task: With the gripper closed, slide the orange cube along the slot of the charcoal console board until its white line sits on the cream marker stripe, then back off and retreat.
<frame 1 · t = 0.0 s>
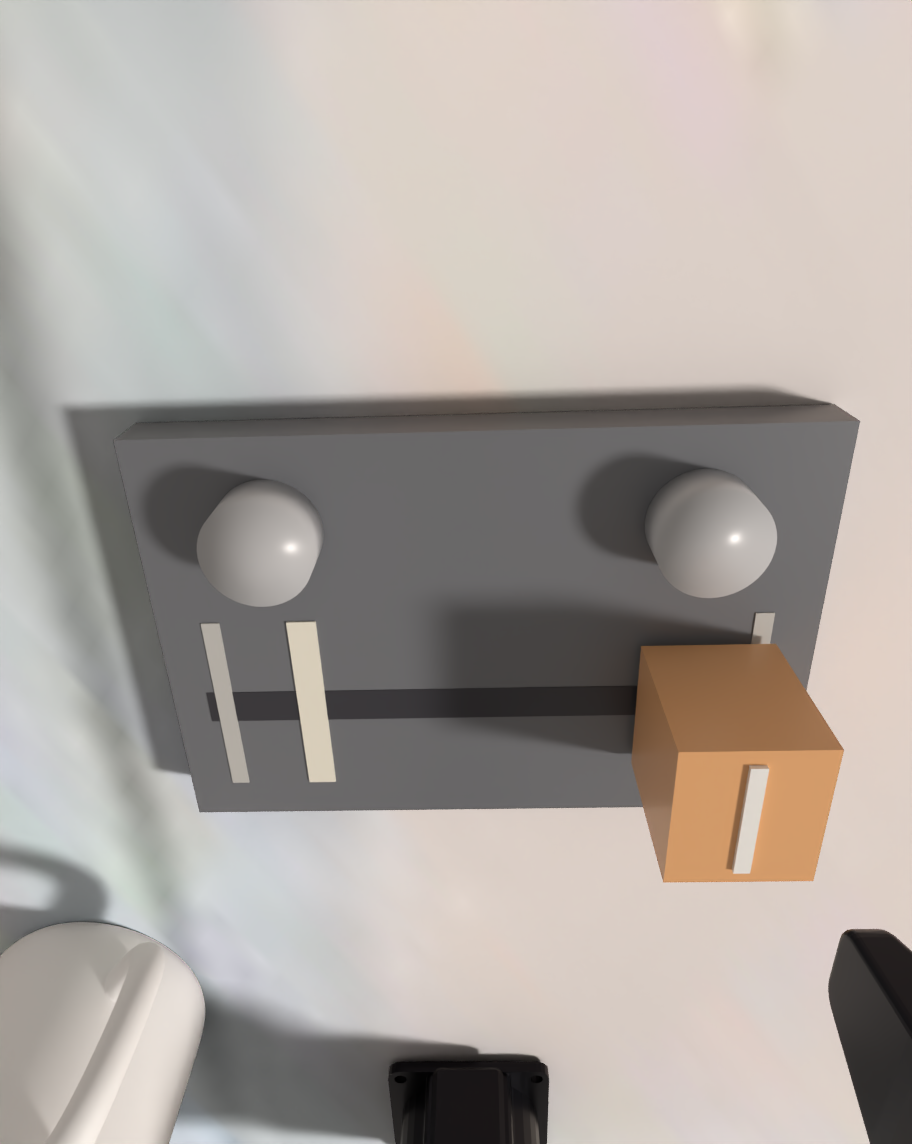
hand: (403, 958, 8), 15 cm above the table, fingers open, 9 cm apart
console board: (484, 615, 23), on the table
cup: (125, 958, 31), on the table
orange cube: (723, 758, 20), point 4 cm above the table, slide at -6.0 cm
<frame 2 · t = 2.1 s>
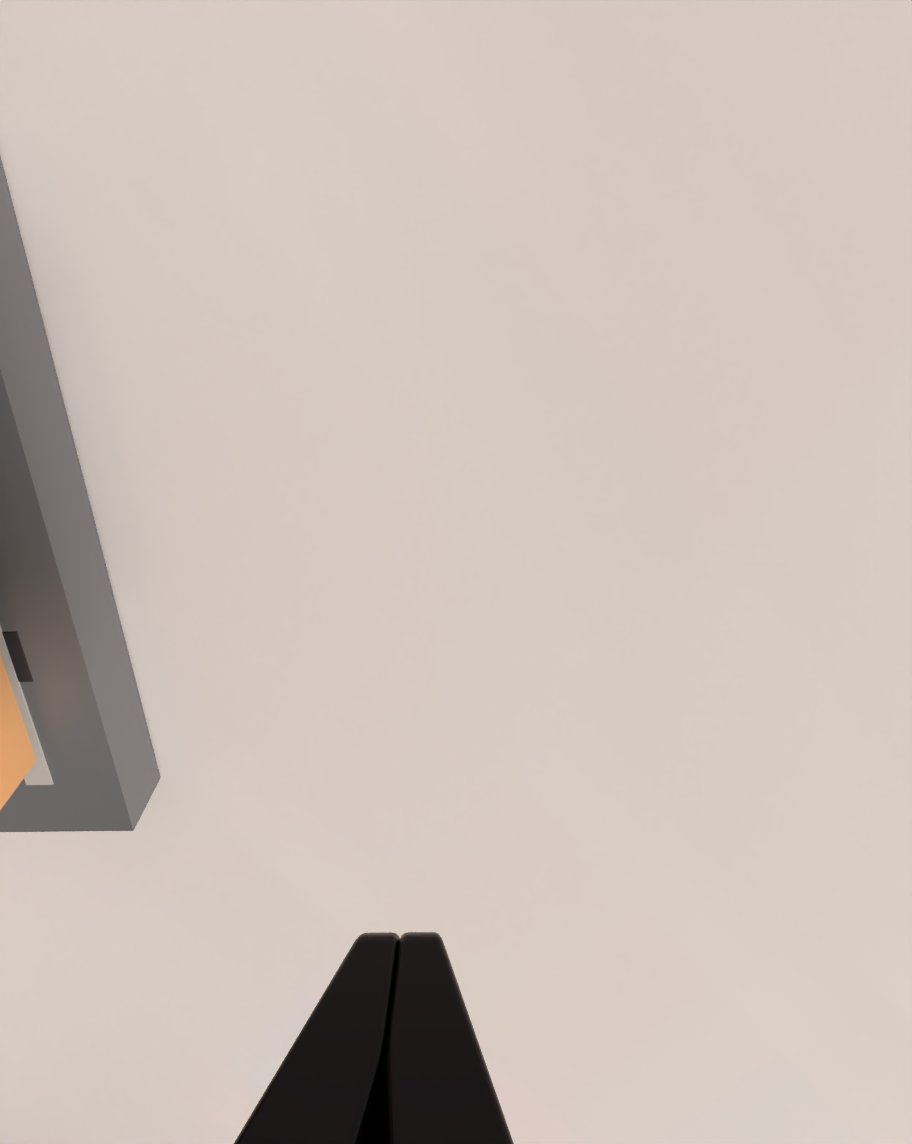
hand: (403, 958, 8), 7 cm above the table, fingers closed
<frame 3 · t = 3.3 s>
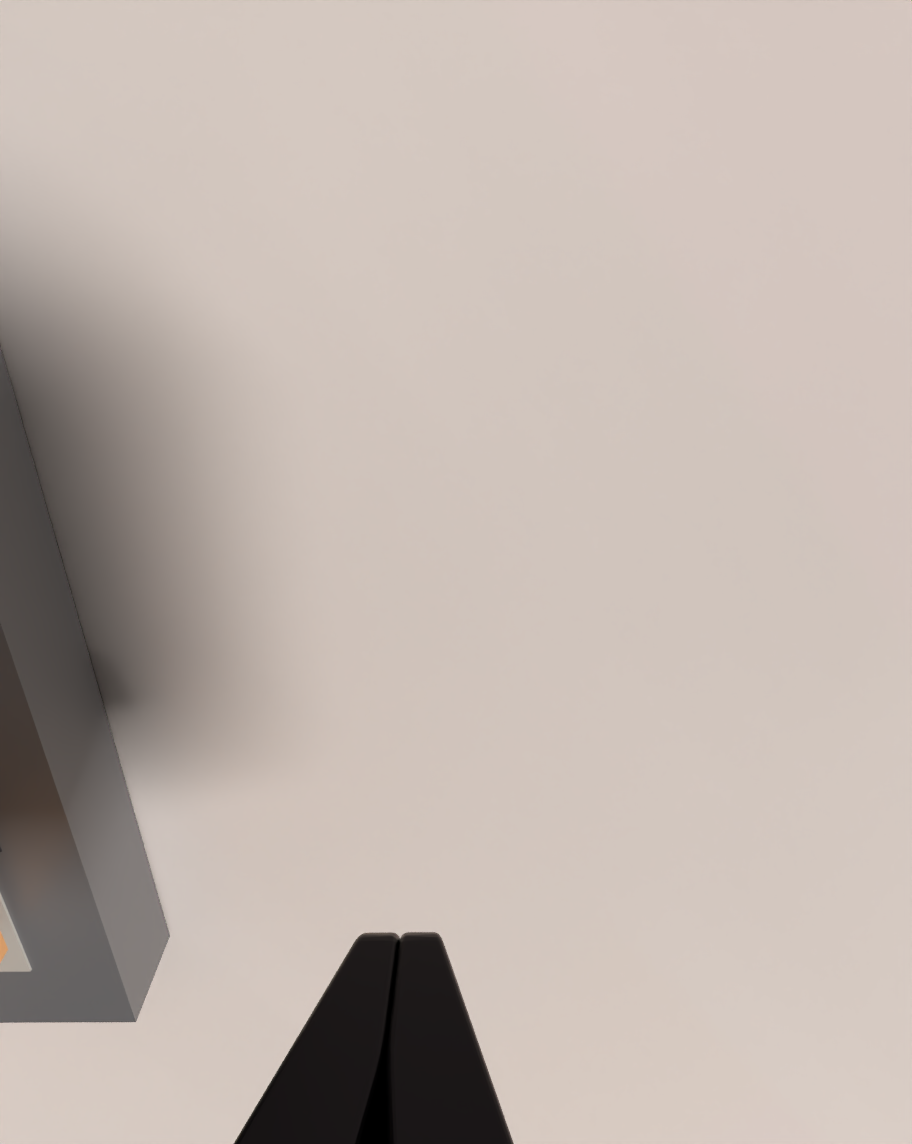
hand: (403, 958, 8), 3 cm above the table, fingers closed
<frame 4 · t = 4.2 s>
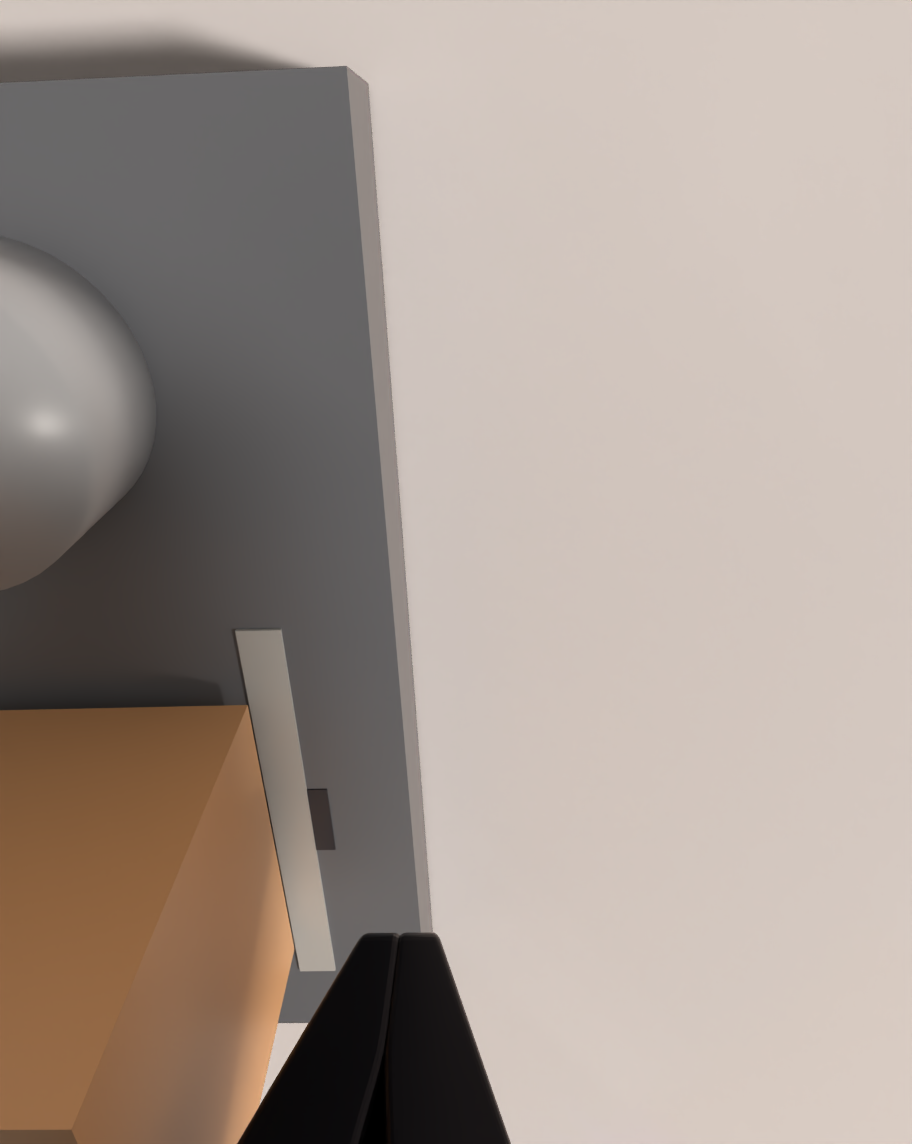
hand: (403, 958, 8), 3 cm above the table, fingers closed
orange cube: (40, 1013, 8), point 4 cm above the table, slide at -5.5 cm, touching gripper
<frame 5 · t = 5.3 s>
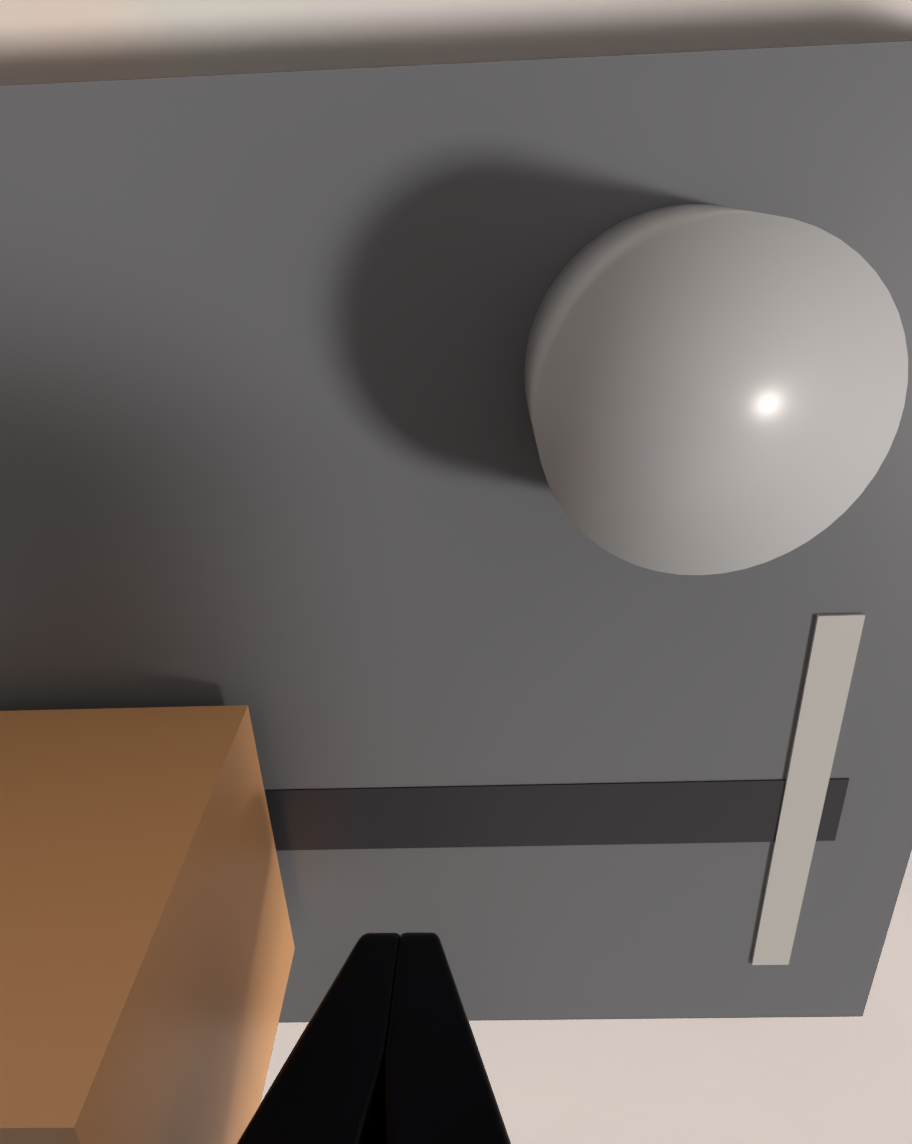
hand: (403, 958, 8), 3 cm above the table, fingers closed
console board: (206, 624, 11), on the table
orange cube: (41, 1013, 8), point 4 cm above the table, slide at 0.8 cm, touching gripper
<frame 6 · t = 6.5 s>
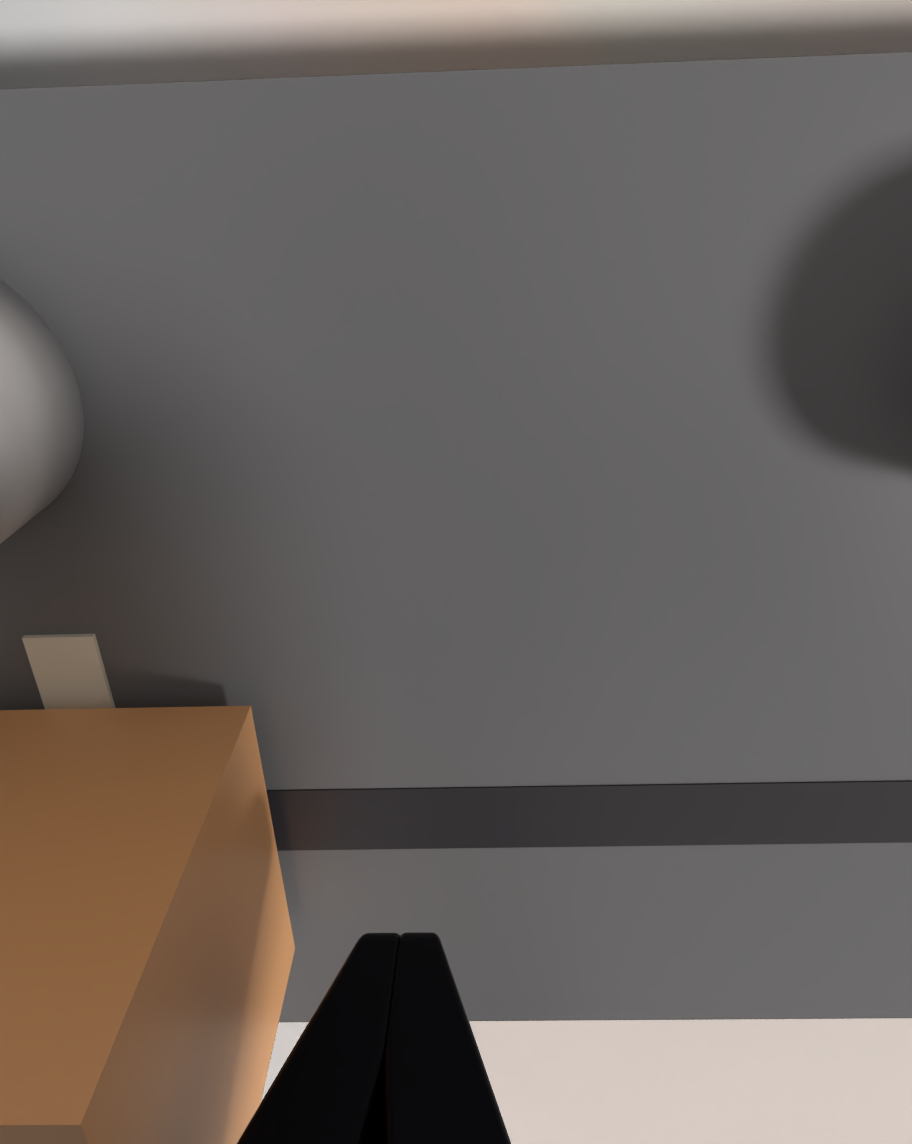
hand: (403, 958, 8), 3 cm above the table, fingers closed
console board: (503, 619, 10), on the table
orange cube: (44, 1011, 8), point 4 cm above the table, slide at 4.7 cm, touching gripper
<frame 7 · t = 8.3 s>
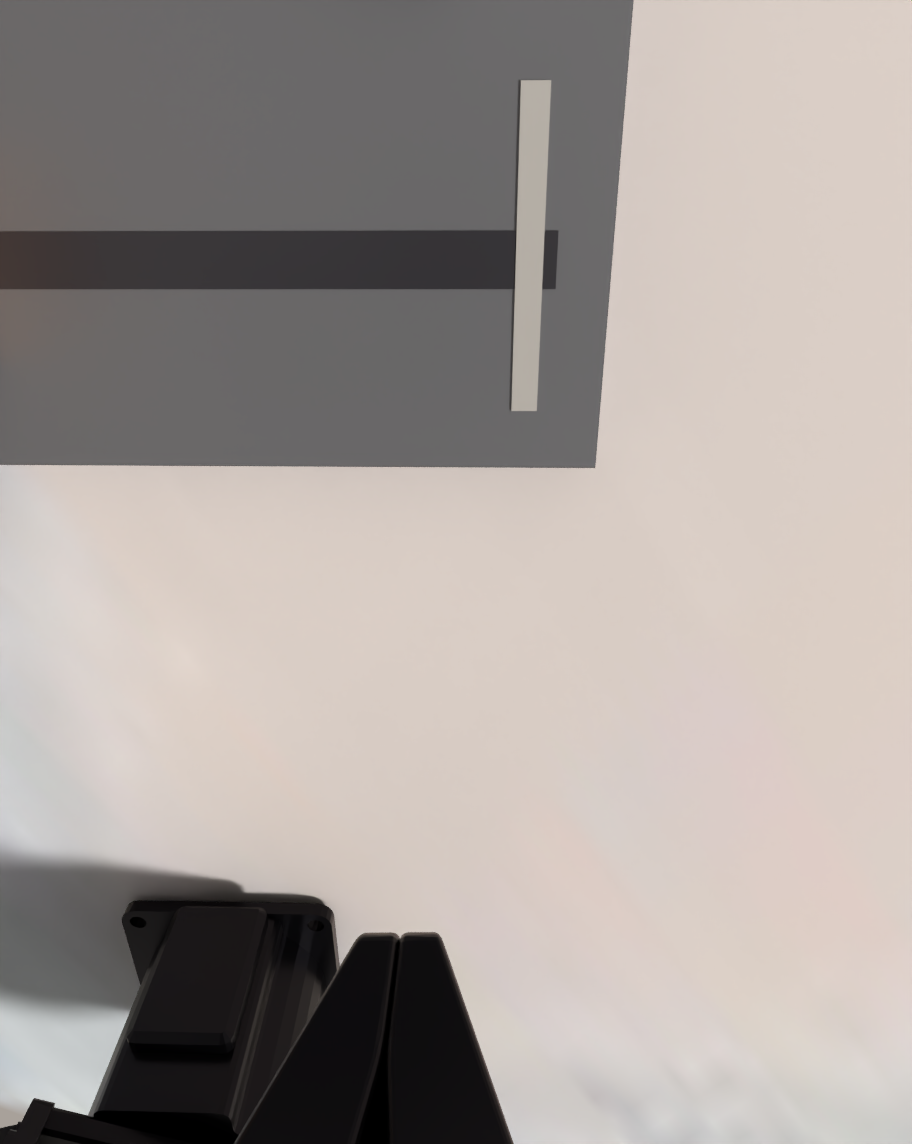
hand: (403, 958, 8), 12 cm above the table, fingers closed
console board: (132, 138, 15), on the table
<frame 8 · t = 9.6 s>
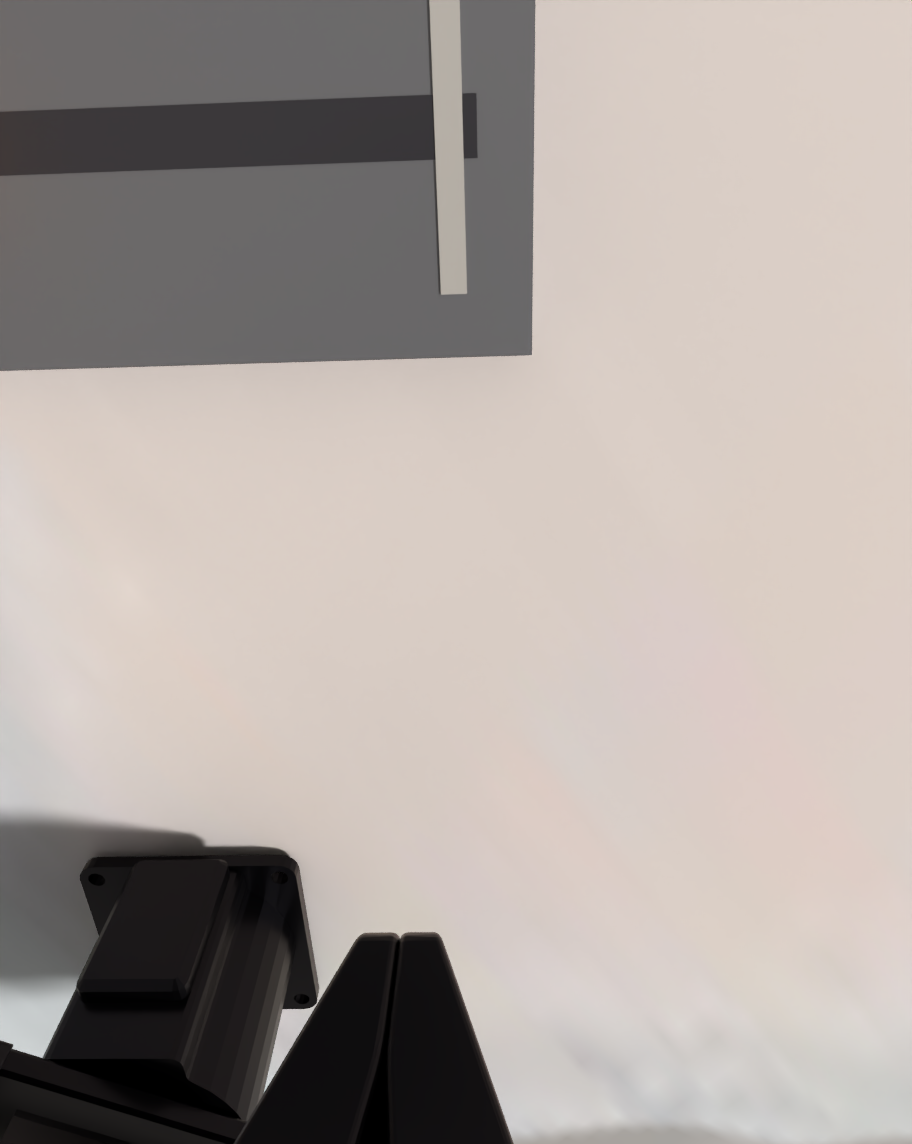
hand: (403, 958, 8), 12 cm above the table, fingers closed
console board: (40, 22, 15), on the table
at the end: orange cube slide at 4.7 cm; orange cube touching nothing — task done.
